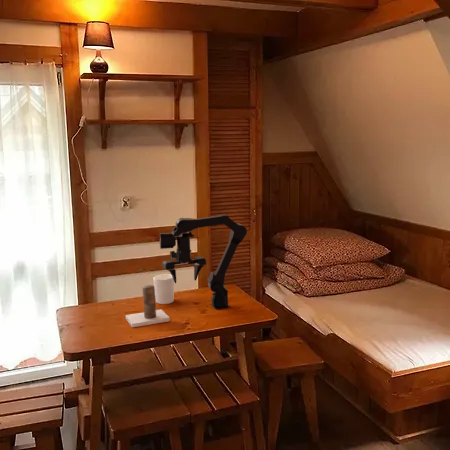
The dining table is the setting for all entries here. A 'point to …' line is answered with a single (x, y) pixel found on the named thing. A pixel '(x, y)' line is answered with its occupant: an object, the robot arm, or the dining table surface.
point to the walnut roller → (149, 301)
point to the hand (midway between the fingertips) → (185, 281)
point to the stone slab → (139, 319)
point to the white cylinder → (164, 288)
